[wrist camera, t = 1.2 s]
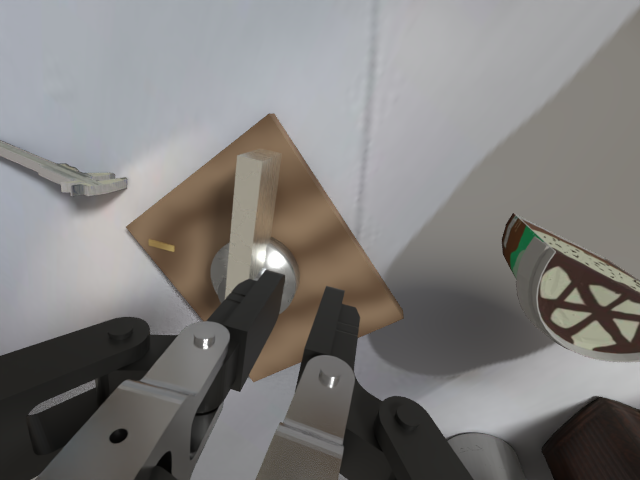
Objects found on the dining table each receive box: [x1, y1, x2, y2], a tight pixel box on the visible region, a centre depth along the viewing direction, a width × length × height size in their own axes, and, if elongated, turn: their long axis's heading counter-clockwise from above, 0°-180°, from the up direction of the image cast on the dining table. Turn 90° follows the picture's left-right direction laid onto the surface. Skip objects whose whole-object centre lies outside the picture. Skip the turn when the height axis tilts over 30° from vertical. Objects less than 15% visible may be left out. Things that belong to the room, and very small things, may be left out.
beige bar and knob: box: [211, 149, 300, 314], centre depth 31 cm, size 18×9×6 cm, turn 169°
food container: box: [502, 213, 640, 362], centre depth 26 cm, size 12×6×10 cm, turn 65°
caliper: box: [0, 140, 127, 196], centre depth 34 cm, size 20×1×6 cm, turn 76°
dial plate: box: [126, 114, 404, 382], centre depth 36 cm, size 24×21×2 cm
